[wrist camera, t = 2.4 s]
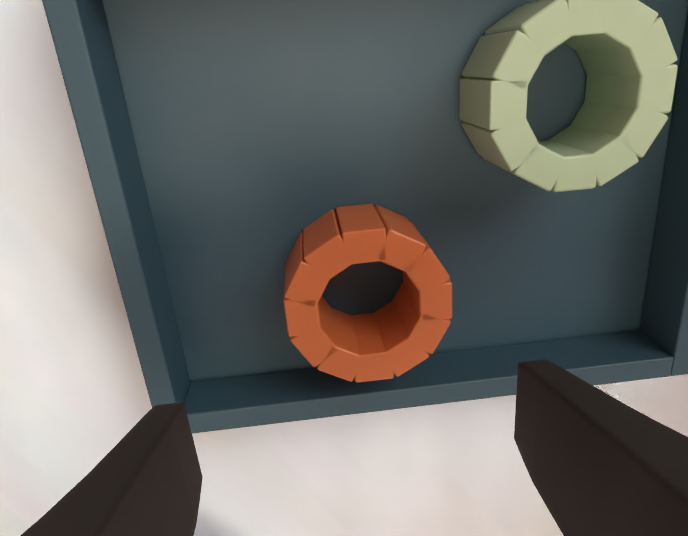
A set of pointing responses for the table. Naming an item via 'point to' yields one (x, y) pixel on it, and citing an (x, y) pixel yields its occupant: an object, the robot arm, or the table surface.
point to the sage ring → (600, 96)
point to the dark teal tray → (358, 200)
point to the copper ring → (372, 328)
